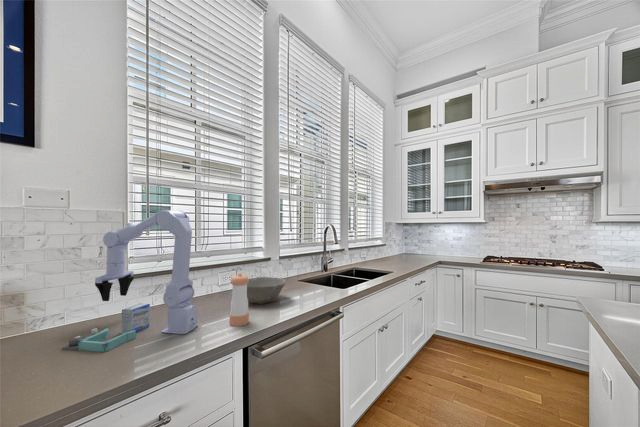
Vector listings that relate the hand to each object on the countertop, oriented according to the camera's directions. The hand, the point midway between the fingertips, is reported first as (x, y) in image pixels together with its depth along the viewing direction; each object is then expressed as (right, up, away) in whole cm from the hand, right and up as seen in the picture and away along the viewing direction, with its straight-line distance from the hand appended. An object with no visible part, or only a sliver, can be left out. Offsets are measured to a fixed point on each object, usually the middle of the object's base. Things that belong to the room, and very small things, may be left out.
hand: (114, 298), depth 104 cm
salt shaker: (+47, -11, +2) cm, 49 cm away
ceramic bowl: (+51, -12, +31) cm, 61 cm away
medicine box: (+12, -10, -5) cm, 16 cm away
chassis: (+8, -9, -16) cm, 21 cm away
